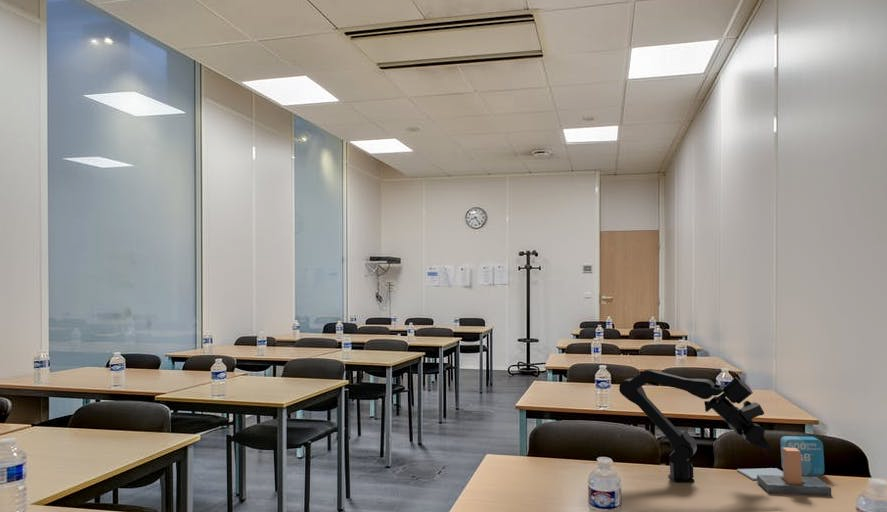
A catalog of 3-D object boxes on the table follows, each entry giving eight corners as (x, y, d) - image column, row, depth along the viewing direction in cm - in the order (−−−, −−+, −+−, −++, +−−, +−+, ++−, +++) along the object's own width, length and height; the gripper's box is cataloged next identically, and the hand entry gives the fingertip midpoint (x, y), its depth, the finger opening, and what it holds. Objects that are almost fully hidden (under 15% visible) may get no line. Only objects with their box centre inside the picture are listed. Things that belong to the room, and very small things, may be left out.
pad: (752, 480, 195) (752, 478, 195) (737, 470, 205) (737, 469, 205) (793, 479, 195) (793, 477, 195) (776, 469, 205) (776, 468, 205)
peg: (788, 490, 185) (786, 450, 185) (783, 486, 188) (781, 447, 189) (802, 491, 184) (800, 451, 184) (797, 487, 188) (795, 447, 188)
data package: (786, 474, 200) (785, 439, 201) (781, 470, 205) (779, 435, 205) (825, 475, 198) (823, 440, 199) (818, 471, 203) (816, 436, 203)
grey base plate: (768, 493, 183) (767, 484, 183) (757, 482, 193) (756, 474, 193) (831, 495, 180) (831, 487, 180) (817, 484, 189) (816, 476, 190)
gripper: (755, 400, 181) (796, 436, 178) (737, 389, 199) (774, 422, 197) (729, 425, 182) (770, 462, 179) (713, 412, 200) (750, 445, 198)
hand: (766, 446), depth 188 cm, fingers open, 9 cm apart
